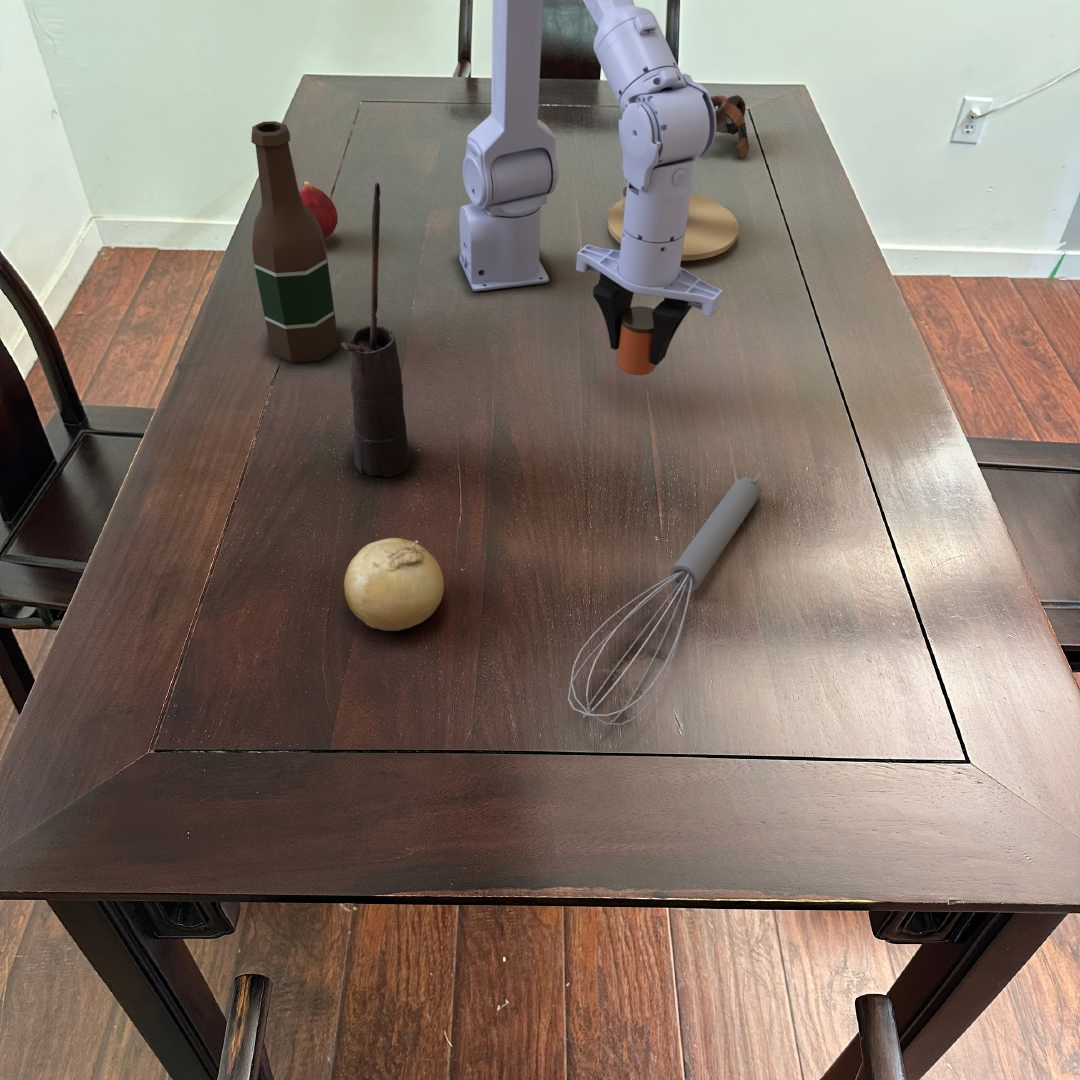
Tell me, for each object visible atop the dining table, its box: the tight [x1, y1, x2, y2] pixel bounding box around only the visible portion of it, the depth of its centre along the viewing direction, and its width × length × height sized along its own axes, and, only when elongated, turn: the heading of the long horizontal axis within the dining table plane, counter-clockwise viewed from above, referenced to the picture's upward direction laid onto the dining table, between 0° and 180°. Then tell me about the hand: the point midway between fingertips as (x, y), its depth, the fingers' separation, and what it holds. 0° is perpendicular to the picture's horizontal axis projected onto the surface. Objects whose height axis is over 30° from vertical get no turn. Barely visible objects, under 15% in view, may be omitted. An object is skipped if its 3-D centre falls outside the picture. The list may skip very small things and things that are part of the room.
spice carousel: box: [606, 185, 740, 262], centre depth 122 cm, size 17×17×10 cm
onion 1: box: [299, 180, 339, 241], centre depth 119 cm, size 6×6×8 cm
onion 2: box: [343, 537, 445, 632], centre depth 78 cm, size 8×8×7 cm
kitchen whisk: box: [567, 472, 761, 728], centre depth 80 cm, size 6×34×6 cm, turn 149°
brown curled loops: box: [710, 94, 749, 160], centre depth 145 cm, size 12×10×8 cm
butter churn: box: [340, 182, 410, 478], centre depth 83 cm, size 9×10×28 cm
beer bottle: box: [251, 120, 339, 364], centre depth 98 cm, size 8×8×24 cm
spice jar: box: [616, 305, 657, 376], centre depth 97 cm, size 4×4×6 cm
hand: (638, 352), depth 97 cm, fingers closed on spice jar, 4 cm apart
